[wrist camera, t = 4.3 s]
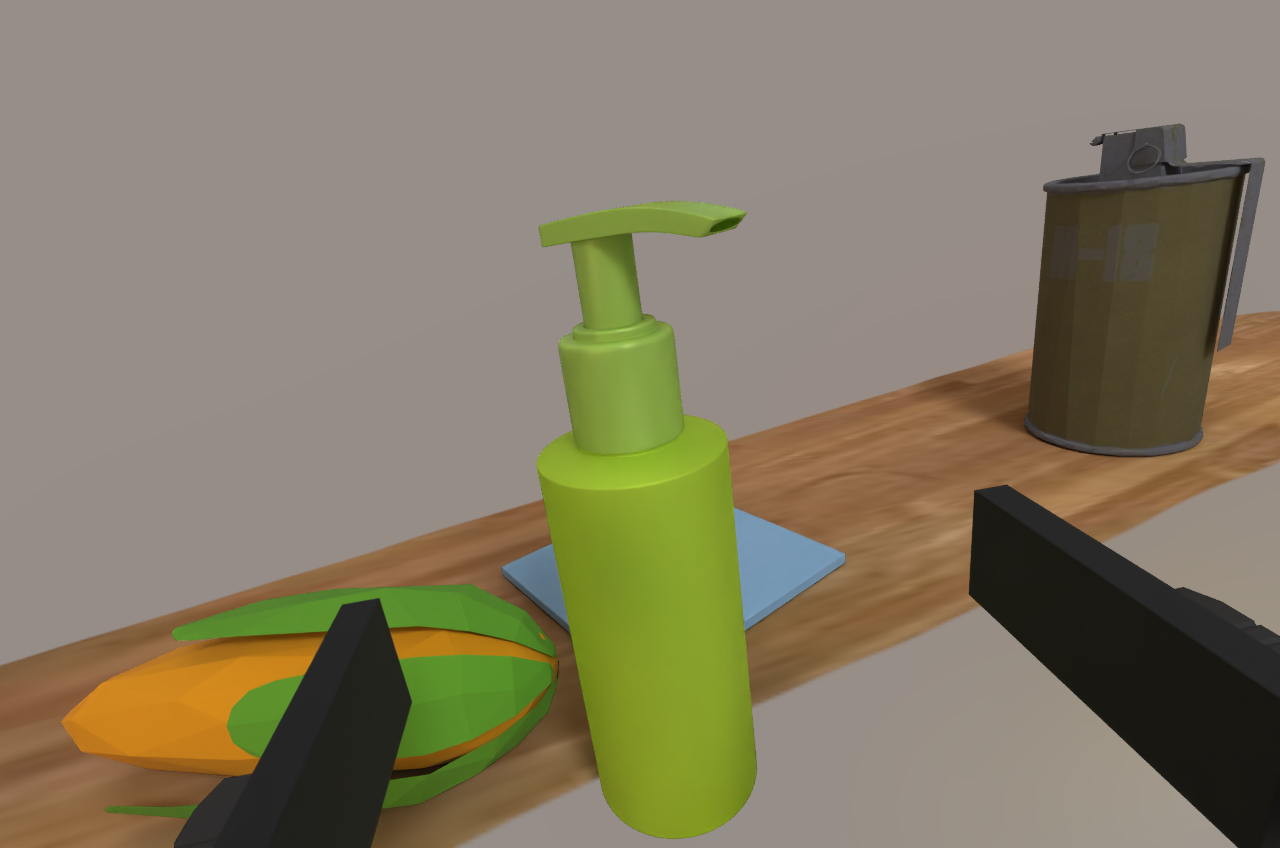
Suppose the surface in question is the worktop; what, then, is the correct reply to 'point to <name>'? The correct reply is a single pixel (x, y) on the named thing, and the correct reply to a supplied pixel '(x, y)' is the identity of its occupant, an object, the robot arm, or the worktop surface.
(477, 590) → the corn
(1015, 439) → the worktop surface
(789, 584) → the blue mat
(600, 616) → the soap dispenser
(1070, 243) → the canister
